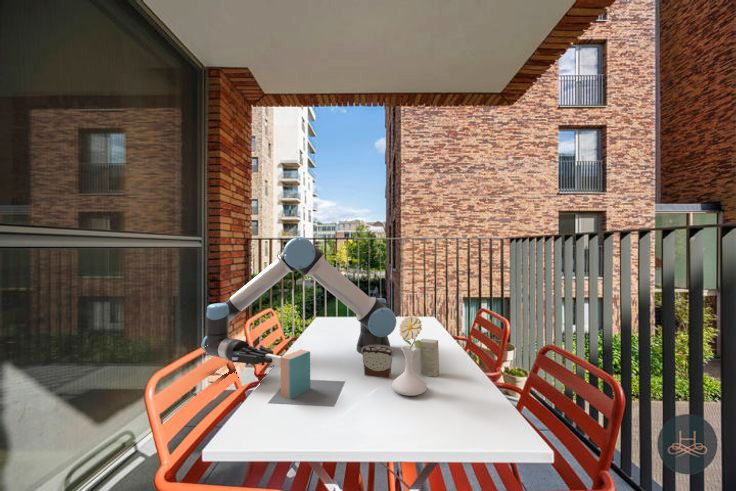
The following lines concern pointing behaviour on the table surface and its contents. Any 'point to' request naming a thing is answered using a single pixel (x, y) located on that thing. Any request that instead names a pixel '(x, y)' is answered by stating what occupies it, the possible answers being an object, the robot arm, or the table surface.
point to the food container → (377, 360)
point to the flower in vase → (409, 360)
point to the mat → (313, 394)
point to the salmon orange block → (295, 373)
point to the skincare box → (429, 357)
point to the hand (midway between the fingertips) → (281, 361)
